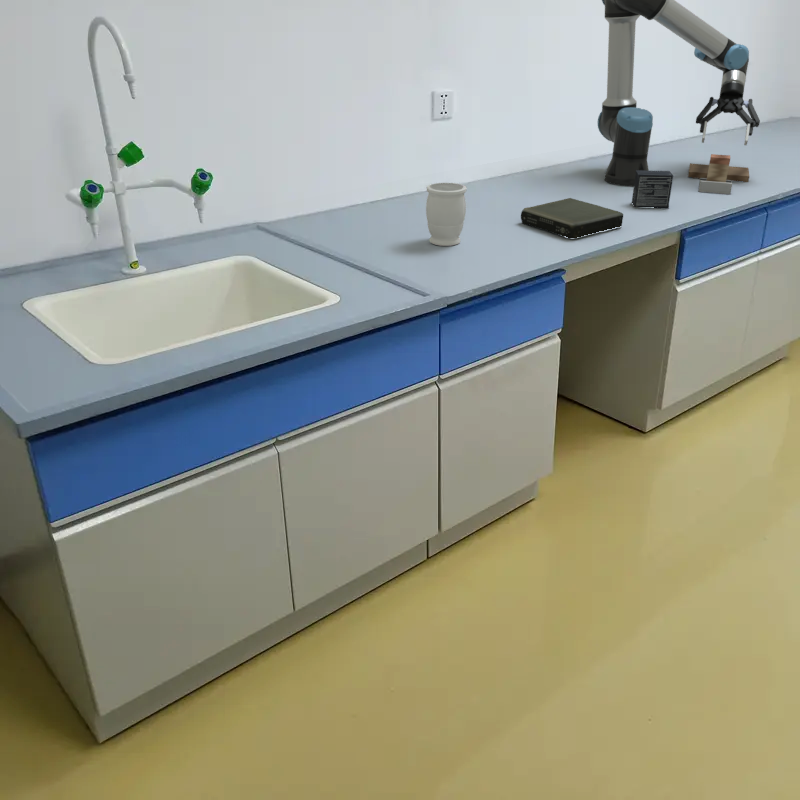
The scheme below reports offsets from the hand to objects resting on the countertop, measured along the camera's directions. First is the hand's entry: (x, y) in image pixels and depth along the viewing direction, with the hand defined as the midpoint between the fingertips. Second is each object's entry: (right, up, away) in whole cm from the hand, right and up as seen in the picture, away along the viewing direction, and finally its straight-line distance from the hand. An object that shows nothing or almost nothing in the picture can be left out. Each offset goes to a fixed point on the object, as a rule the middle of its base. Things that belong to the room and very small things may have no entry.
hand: (724, 141), depth 273 cm
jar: (-97, -44, -52) cm, 118 cm away
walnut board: (+4, -7, +17) cm, 19 cm away
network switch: (-60, -37, -38) cm, 80 cm away
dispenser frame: (-4, -16, -1) cm, 17 cm away
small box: (-31, -26, -19) cm, 45 cm away
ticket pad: (-4, -16, -1) cm, 17 cm away
